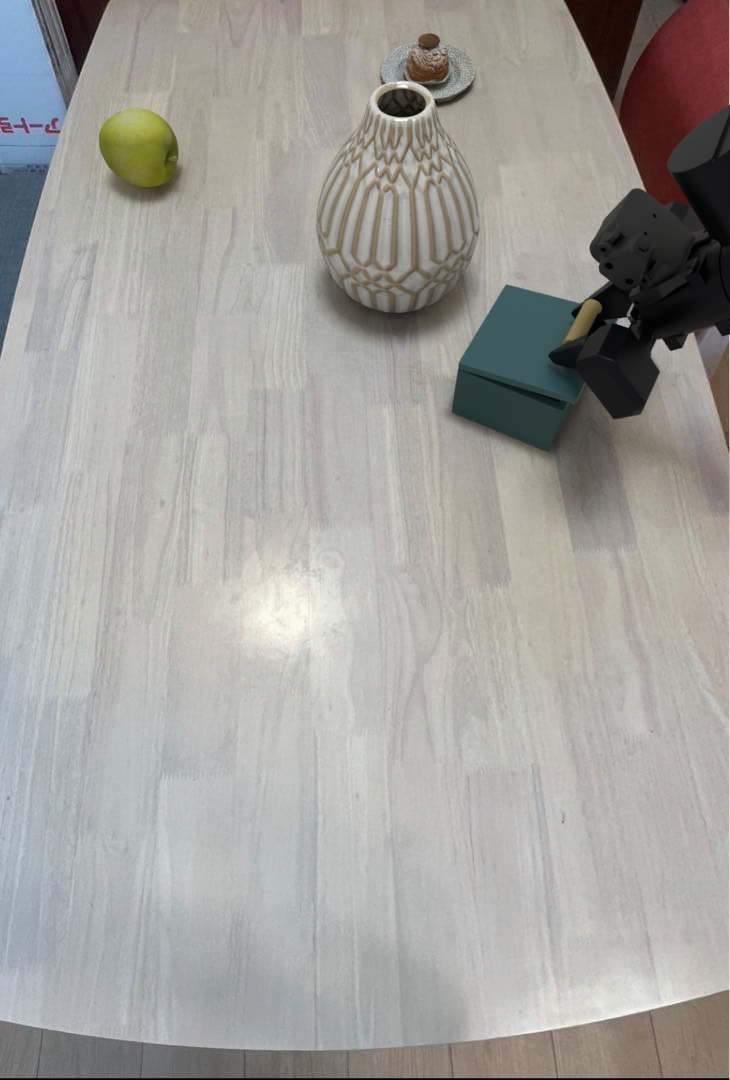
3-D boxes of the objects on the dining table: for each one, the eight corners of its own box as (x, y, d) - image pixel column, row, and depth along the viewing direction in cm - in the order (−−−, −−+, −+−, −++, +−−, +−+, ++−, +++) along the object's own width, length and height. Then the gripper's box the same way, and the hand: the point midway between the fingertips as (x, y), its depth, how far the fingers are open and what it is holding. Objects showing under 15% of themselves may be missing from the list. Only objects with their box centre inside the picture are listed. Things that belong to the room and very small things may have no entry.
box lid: (618, 319, 67) (626, 282, 64) (575, 404, 63) (581, 370, 60) (505, 290, 71) (507, 253, 67) (458, 369, 67) (457, 334, 63)
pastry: (481, 57, 98) (486, 19, 94) (464, 114, 93) (468, 76, 89) (392, 44, 99) (393, 6, 95) (370, 100, 94) (370, 62, 90)
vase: (335, 350, 76) (323, 176, 58) (310, 240, 83) (292, 55, 65) (487, 325, 77) (521, 147, 60) (449, 219, 84) (470, 32, 67)
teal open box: (588, 372, 74) (605, 328, 69) (548, 452, 70) (563, 411, 65) (495, 336, 77) (504, 290, 71) (451, 412, 73) (457, 369, 67)
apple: (176, 209, 86) (158, 145, 79) (103, 196, 87) (78, 131, 80) (200, 165, 89) (185, 99, 82) (129, 152, 90) (108, 86, 83)
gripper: (726, 100, 53) (551, 195, 65) (638, 274, 45) (461, 343, 58) (792, 226, 57) (617, 292, 70) (723, 402, 50) (542, 440, 63)
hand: (562, 336), depth 65 cm, fingers closed on box lid, 5 cm apart
